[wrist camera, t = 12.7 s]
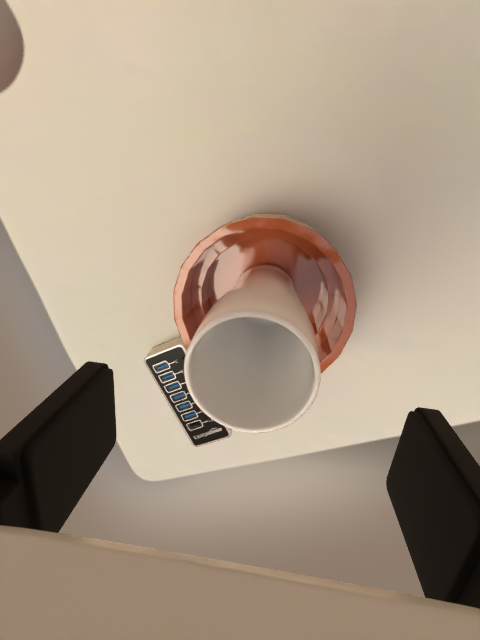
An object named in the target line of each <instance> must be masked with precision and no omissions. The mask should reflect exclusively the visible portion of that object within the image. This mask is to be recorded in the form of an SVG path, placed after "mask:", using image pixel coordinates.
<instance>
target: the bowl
mask: <svg viewBox="0 0 480 640" xmlns="http://www.w3.org/2000/svg"><path fill="white" fill-rule="evenodd" d="M258 265H272V266H276V267H278V268H280V269H282V270H283V271H285V272H286V273H287V274H288V275H289V276H290V278H291V279H292V281H293V283H294V285H295V289H296V292H297V294H298V297H299V299H300V301H301V303H302V305H303V306H304V308H305V310H306V312H307V315H308V317H309V319H310V321H311V324H312V327H313V330H314V333H315V337H316V341H317V347H318V352H319V361H320V369H321V373H322V372H323V371H324V370H325V369H326V368H327V367H328V366H329V365H331V364H332V363H333V362H334V361H335V360H336V359H337V358H338V357H339V355H340V354H341V352H342V350H343V348H344V346H345V344H346V342H347V341H348V339H349V337H350V335H351V333H352V330H353V324H354V318H355V312H356V306H357V305H356V298H355V293H354V287H353V282H352V277H351V274H350V273H349V271H348V269H347V268H346V266H345V264H344V262H343V261H342V259H341V257H340V256H339V254H338V252H337V251H336V249H335V248H334V247H333V246H332V245H331V244H330V243H329V242H328V241H327V240H326V239H325V238H323V237H322V236H321V235H320V234H319V233H318V232H316V231H315V230H314V229H313V228H312V227H310V226H309V225H308V224H306V223H304V222H301V221H299V220H296V219H294V218H291V217H288V216H286V215H283V214H261V213H258V214H253V215H250V216H247V217H243V218H240V219H236V220H233V221H231V222H229V223H227V224H225V225H223V226H221V227H220V228H218V229H217V230H216V231H214V232H213V233H211V234H210V235H208V236H207V237H206V238H204V239H203V240H201V241H200V242H199V243H198V244H197V245H196V246H195V248H194V249H193V250H192V252H191V253H190V255H189V256H188V257H187V259H186V260H185V262H184V263H183V264H182V266H181V269H180V272H179V275H178V279H177V282H176V285H175V289H174V318H175V322H176V325H177V328H178V330H179V333H180V336H181V339H182V341H183V343H184V345H185V347H186V348H187V349H188V347H189V344H190V342H191V341H192V339H193V337H194V334H195V332H196V330H197V329H198V327H199V325H200V323H201V322H202V320H203V319H204V317H205V315H206V314H207V313H208V311H209V310H210V309H211V308H212V306H213V305H214V304H215V303H216V302H217V301H218V300H219V299H220V298H221V297H222V296H223V295H224V294H225V293H226V292H227V291H228V290H229V289H230V288H231V287H232V286H233V285H234V284H235V283H236V282H237V281H238V280H239V278H240V277H241V275H242V274H243V273H244V272H246V271H247V270H248V269H250V268H252V267H255V266H258Z"/></svg>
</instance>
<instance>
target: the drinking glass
mask: <svg viewBox="0 0 480 640" xmlns="http://www.w3.org/2000/svg"><path fill="white" fill-rule="evenodd" d="M184 376H185V381H186V385H187V388H188V391H189V393H190V395H191V397H192V399H193V400H194V402H195V403H196V404H197V406H198V407H199V408H200V409H201V410H202V411H203V412H204V413H205V414H206V415H207V416H208V417H210V418H211V419H213V420H214V421H216V422H217V423H219V424H221V425H223V426H225V427H228V428H230V429H234V430H237V431H242V432H249V433H263V432H270V431H274V430H278V429H281V428H283V427H286V426H288V425H290V424H292V423H293V422H295V421H296V420H298V419H299V418H300V417H301V416H302V415H303V414H304V413H306V411H307V410H308V409H309V408H310V406H311V405H312V403H313V402H314V400H315V398H316V396H317V393H318V390H319V386H320V380H321V369H320V361H319V352H318V347H317V341H316V337H315V333H314V330H313V327H312V324H311V321H310V319H309V317H308V315H307V312H306V310H305V308H304V306H303V305H302V303H301V301H300V299H299V297H298V294H297V292H296V289H295V285H294V283H293V281H292V279H291V278H290V276H289V275H288V274H287V273H286V272H285V271H283V270H282V269H280V268H278V267H276V266H272V265H258V266H255V267H252V268H250V269H248V270H247V271H246V272H244V273H243V274H242V275H241V277H240V278H239V280H238V281H237V282H236V283H235V284H234V285H233V286H232V287H231V288H230V289H229V290H228V291H227V292H226V293H225V294H224V295H223V296H222V297H221V298H220V299H219V300H218V301H217V302H216V303H215V304H214V305H213V306H212V308H211V309H210V310H209V311H208V313H207V314H206V315H205V317H204V319H203V320H202V322H201V323H200V325H199V327H198V329H197V330H196V332H195V334H194V337H193V339H192V341H191V342H190V344H189V347H188V349H187V352H186V356H185V361H184Z"/></svg>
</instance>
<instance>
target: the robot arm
mask: <svg viewBox="0 0 480 640" xmlns="http://www.w3.org/2000/svg"><path fill="white" fill-rule="evenodd" d="M115 441H116V418H115V399H114V380H113V371H112V369H109V368H108V365H107V364H104V363H97V362H86V363H85V364H84V365H83V366H82V367H81V368H80V369H78V370H77V371H76V372H75V373H74V374H73V375H72V376H71V377H70V378H69V379H67V380H66V381H65V382H64V383H63V384H62V385H61V386H60V387H59V388H57V389H56V390H55V391H54V392H53V393H52V394H51V395H50V396H48V398H46V399H45V400H44V401H43V402H42V403H41V404H40V405H38V406H37V407H36V408H35V409H34V410H33V411H32V412H31V413H30V414H28V415H27V416H26V417H25V418H24V419H23V420H22V421H21V422H19V423H18V424H17V425H16V426H15V427H14V428H13V429H12V430H11V431H10V432H8V433H7V434H6V435H5V436H4V437H3V438H2V439H1V440H0V640H480V466H479V465H478V463H477V462H476V461H475V459H474V458H473V457H472V455H471V454H470V452H469V451H468V450H467V448H466V447H465V445H464V444H463V443H462V441H461V440H460V439H459V437H458V436H457V434H456V433H455V432H454V430H453V429H452V427H451V426H450V425H449V423H448V422H447V420H446V419H445V418H444V416H443V415H442V413H441V412H440V411H438V410H434V409H427V408H419V407H418V408H416V409H415V411H414V412H413V411H411V412H409V414H408V416H407V419H406V422H405V425H404V428H403V431H402V434H401V437H400V440H399V443H398V446H397V449H396V452H395V455H394V458H393V461H392V464H391V467H390V470H389V473H388V476H387V481H386V485H387V490H388V493H389V496H390V499H391V502H392V505H393V507H394V510H395V513H396V516H397V519H398V522H399V524H400V527H401V530H402V533H403V536H404V538H405V541H406V544H407V547H408V550H409V552H410V555H411V558H412V561H413V564H414V566H415V569H416V572H417V575H418V578H419V581H420V583H421V586H422V589H423V592H424V595H425V597H420V596H415V595H410V594H405V593H399V592H394V591H388V590H383V589H377V588H372V587H366V586H361V585H355V584H350V583H344V582H339V581H333V580H328V579H322V578H317V577H311V576H306V575H300V574H295V573H289V572H283V571H278V570H272V569H267V568H261V567H255V566H250V565H244V564H238V563H232V562H227V561H221V560H215V559H210V558H204V557H198V556H192V555H187V554H181V553H175V552H169V551H164V550H158V549H152V548H146V547H140V546H134V545H128V544H122V543H116V542H110V541H104V540H98V539H93V538H87V537H81V536H74V535H67V534H61V533H58V532H59V531H60V529H61V527H62V526H63V525H64V523H65V521H66V520H67V518H68V517H69V515H70V514H71V512H72V510H73V509H74V507H75V506H76V504H77V503H78V501H79V500H80V498H81V497H82V495H83V493H84V492H85V490H86V489H87V487H88V486H89V484H90V483H91V481H92V479H93V478H94V476H95V475H96V473H97V472H98V470H99V469H100V467H101V466H102V464H103V462H104V461H105V459H106V458H107V456H108V455H109V453H110V451H111V450H112V448H113V447H114V444H115Z"/></svg>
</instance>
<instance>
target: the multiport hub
mask: <svg viewBox="0 0 480 640" xmlns="http://www.w3.org/2000/svg"><path fill="white" fill-rule="evenodd" d="M186 352H187V348H186V347H185V345H184V343H183V341H182V339H181V337H178V338H176V339H173V340H171V341H168V342H166V343H163V344H161V345H158V346H156V347H154V348H152V350H151V351H150V352H149V353H148V354H147V356H146V357H145V358H144V363H145V365H146V366H147V368H148V370H149V371H150V373H151V375H152V377H153V378H154V380H155V382H156V383H157V385H158V387H159V388H160V390H161V392H162V394H163V395H164V397H165V399H166V400H167V402H168V404H169V406H170V407H171V409H172V411H173V412H174V414H175V416H176V417H177V419H178V421H179V423H180V424H181V426H182V428H183V429H184V431H185V433H186V434H187V436H188V438H189V440H190V441H191V443H192V445H193V446H195V447H199V446H202V445H205V444H208V443H212V442H215V441H218V440H221V439H225V438H228V437H230V436H231V433H232V429H230V428H228V427H225V426H223V425H221V424H219V423H217V422H216V421H214V420H213V419H211V418H210V417H208V416H207V415H206V414H205V413H204V412H203V411H202V410H201V409H200V408H199V407H198V406H197V404H196V403H195V402H194V400H193V399H192V397H191V395H190V393H189V391H188V388H187V385H186V381H185V376H184V361H185V356H186Z"/></svg>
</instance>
